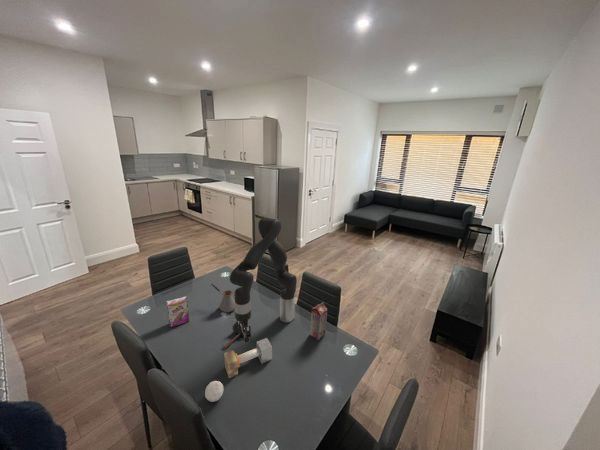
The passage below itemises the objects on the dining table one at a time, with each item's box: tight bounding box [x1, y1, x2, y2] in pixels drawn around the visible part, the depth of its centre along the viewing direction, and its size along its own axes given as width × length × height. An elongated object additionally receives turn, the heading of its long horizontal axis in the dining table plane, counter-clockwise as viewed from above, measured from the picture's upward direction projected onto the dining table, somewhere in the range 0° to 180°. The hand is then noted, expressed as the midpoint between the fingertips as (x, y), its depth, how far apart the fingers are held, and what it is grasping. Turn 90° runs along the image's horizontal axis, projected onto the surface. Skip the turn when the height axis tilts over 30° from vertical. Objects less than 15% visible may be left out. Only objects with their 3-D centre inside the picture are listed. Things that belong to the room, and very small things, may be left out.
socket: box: [223, 349, 239, 379], centre depth 120 cm, size 4×8×9 cm, turn 31°
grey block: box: [256, 337, 273, 365], centre depth 129 cm, size 6×7×8 cm
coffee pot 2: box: [222, 321, 245, 350], centre depth 141 cm, size 8×18×8 cm
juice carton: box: [309, 301, 328, 341], centre depth 144 cm, size 7×7×22 cm
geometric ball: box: [204, 380, 224, 403], centre depth 107 cm, size 8×8×8 cm
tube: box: [234, 347, 261, 369], centre depth 125 cm, size 18×7×7 cm, turn 121°
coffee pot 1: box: [210, 283, 235, 313], centre depth 167 cm, size 21×12×15 cm, turn 61°
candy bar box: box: [165, 296, 190, 328], centre depth 149 cm, size 11×5×16 cm, turn 123°
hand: (243, 335), depth 120 cm, fingers open, 8 cm apart
